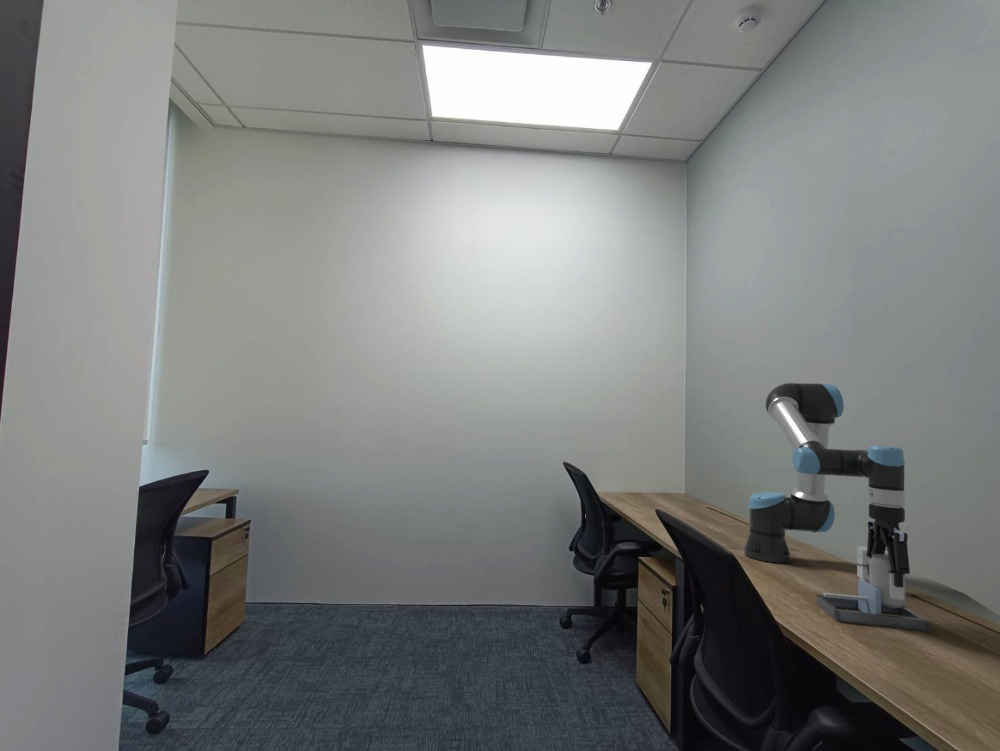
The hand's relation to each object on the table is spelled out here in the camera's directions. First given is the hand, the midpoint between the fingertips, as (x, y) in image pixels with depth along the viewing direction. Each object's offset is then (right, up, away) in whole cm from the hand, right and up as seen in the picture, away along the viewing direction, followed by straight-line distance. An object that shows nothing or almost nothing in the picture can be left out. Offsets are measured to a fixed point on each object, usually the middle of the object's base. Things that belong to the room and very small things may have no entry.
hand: (887, 593), depth 130 cm
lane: (-4, -6, 0) cm, 8 cm away
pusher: (-9, -6, +1) cm, 11 cm away
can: (0, -3, 0) cm, 3 cm away
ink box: (+14, -9, +23) cm, 28 cm away
